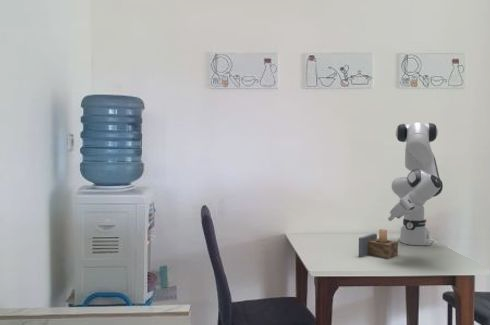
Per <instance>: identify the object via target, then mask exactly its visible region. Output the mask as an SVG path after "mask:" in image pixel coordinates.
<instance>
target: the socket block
mask: <svg viewBox="0 0 490 325" xmlns="http://www.w3.org/2000/svg"><path fill="white" fill-rule="evenodd" d="M398 246H399V241H398V240H397V241H396V240H391V239H387V243H381V242H379V237H377V239H375V240H372V241H369V242H368V255H367V256H371V257H376V258H381V259H386V260H388V259H391V258H394V257H396V256H398V255H399V252H398V250H399V248H398Z"/></svg>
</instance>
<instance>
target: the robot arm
mask: <svg viewBox="0 0 490 325" xmlns="http://www.w3.org/2000/svg"><path fill="white" fill-rule="evenodd" d="M438 131H439V130H438V127H437V125H436V124H435V123H431V122H428V123H426V122H421V121H415V122H411V123H400V124H399V125H398V126H397V127H396V129H395V136H396V139H397V141H398V142H401V143H406V144H405V149H404V150H405V151H404V153H405V154H404V165H405V168H406V169H407V170H408V171H409V173H408V175H407V176H401V177H395V178H394V179H393V181H392V182H391V190H392V192H393V194H395V195H396V196H397V197H398V198H399V200H398V203H396V204H395V205H394V207H393V208H392V209H391V210H390V211H389V215H390V216H389V217H388V218H387V221H389V222H391V221H393V220H394V219H395V218H397V219H398V220H399V219H401V218H402V217H403V218H402V225H403V226H401V227H400V232H399V233H400V234H399V238H397V242H400V243H401V242H402V244H404V245H409V246H410V245H411V246H431V244H433V243H434V239H433V238H430V230H429V229H428V228H427V227H426V223H427V219H425V206H424V205H425V204H426V203H427V201H428V200H431V199H432V198H434V197H437V196H439V195H440V194H441V193H442V191H443V186H444V185H443V181H442V180H441V178H440V175H439V174H440V173H439V171H438V166H437V161H436V160H437V159H436V157H435V155H434V153H433V151H432V146H431V144H430V143H432V142H434V141H435V140H436V139H437V137H438Z"/></svg>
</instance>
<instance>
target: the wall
mask: <svg viewBox="0 0 490 325" xmlns="http://www.w3.org/2000/svg"><path fill="white" fill-rule="evenodd" d="M375 239H378V234H377V233H371V234H366V235H365V236H364V235H363V236H360V237H359V238H358V257H360V258H364V257H367V256H369V255H368V242H369V241H372V240H375Z"/></svg>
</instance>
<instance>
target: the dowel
mask: <svg viewBox="0 0 490 325" xmlns="http://www.w3.org/2000/svg"><path fill="white" fill-rule="evenodd" d="M378 238H379V242H381V243H387V240H388V230H387V229H383V228H382V229H379V230H378Z"/></svg>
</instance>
